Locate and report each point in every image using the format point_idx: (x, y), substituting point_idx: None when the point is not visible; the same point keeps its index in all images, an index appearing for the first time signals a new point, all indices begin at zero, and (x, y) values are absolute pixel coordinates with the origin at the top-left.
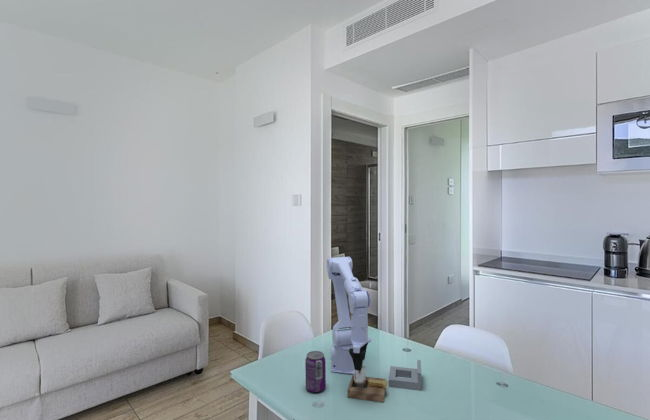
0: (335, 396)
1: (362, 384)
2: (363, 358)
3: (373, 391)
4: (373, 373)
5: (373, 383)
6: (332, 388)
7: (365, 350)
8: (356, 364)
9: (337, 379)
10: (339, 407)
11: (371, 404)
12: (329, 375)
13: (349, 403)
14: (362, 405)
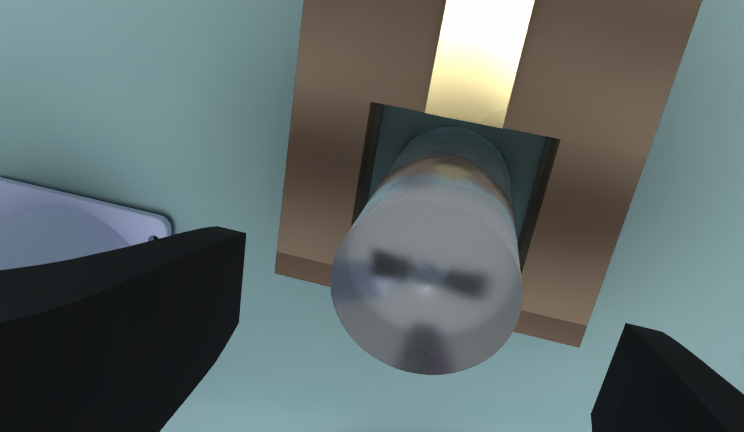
0: (543, 402)
1: (508, 193)
2: (231, 256)
3: (627, 58)
4: (106, 20)
5: (520, 53)
6: (417, 415)
7: (123, 290)
8: None
9: (272, 366)
10: None
11: (714, 83)
12: (219, 421)
13: (669, 299)
14: (720, 180)
